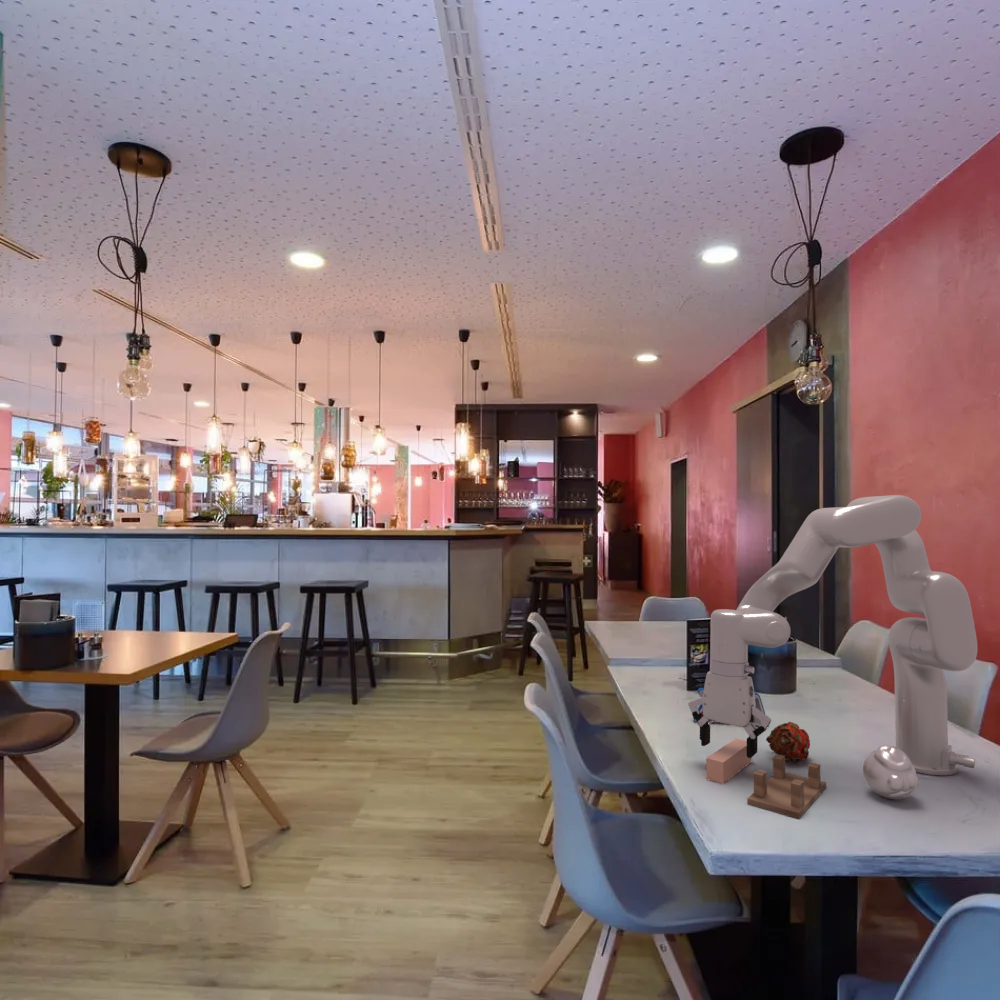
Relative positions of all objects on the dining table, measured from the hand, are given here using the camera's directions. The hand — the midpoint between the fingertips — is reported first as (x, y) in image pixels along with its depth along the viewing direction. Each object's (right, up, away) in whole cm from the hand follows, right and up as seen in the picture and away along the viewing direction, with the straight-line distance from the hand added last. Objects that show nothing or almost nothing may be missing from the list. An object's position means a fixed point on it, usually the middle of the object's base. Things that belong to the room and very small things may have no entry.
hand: (727, 750), depth 132 cm
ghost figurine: (+26, -4, -13) cm, 30 cm away
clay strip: (0, -5, 0) cm, 4 cm away
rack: (+7, -4, -12) cm, 15 cm away
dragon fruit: (+16, -5, +7) cm, 19 cm away
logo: (+12, -6, +31) cm, 34 cm away
